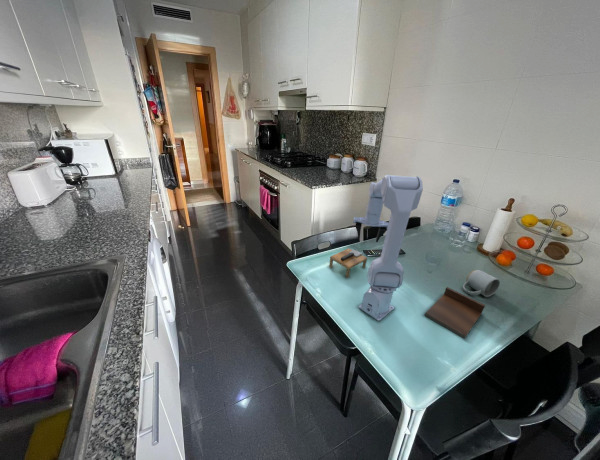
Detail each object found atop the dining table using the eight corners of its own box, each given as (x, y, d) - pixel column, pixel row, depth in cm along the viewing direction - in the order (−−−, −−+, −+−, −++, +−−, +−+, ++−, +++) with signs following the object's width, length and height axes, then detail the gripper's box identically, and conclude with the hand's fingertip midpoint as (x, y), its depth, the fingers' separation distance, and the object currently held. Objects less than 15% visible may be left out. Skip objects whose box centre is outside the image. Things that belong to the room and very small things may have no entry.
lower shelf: (464, 338, 74) (469, 328, 72) (424, 315, 82) (427, 306, 80) (481, 314, 83) (485, 305, 82) (443, 295, 91) (447, 286, 90)
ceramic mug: (475, 281, 100) (481, 265, 97) (495, 294, 93) (503, 277, 90) (455, 287, 97) (462, 270, 93) (475, 300, 90) (483, 283, 86)
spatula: (345, 262, 99) (346, 260, 99) (338, 258, 102) (338, 256, 102) (362, 254, 106) (362, 251, 106) (354, 250, 109) (355, 248, 108)
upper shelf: (347, 277, 99) (349, 267, 97) (329, 266, 105) (330, 256, 103) (365, 267, 106) (367, 257, 104) (347, 257, 113) (348, 248, 111)
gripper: (392, 210, 101) (385, 237, 109) (356, 204, 105) (351, 231, 112) (392, 218, 96) (385, 246, 103) (354, 212, 99) (350, 239, 106)
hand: (367, 239), depth 107 cm, fingers open, 7 cm apart
